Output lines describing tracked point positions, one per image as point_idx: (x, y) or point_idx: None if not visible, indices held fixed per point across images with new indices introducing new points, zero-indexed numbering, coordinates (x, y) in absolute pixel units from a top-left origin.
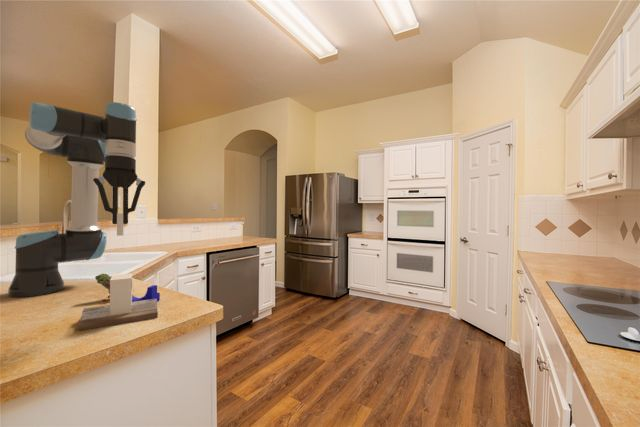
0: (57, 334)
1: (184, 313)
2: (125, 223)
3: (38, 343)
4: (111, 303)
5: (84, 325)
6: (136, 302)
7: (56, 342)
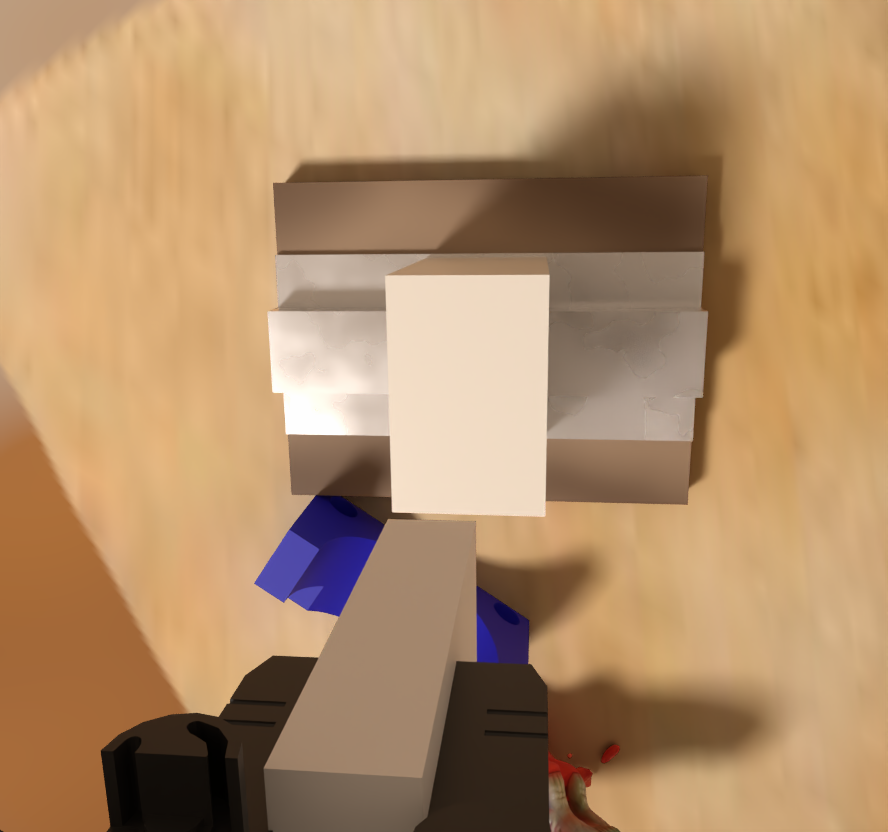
0: (800, 176)
1: (129, 175)
2: (298, 665)
3: (875, 67)
4: (537, 261)
5: (674, 176)
6: None
7: (789, 28)
